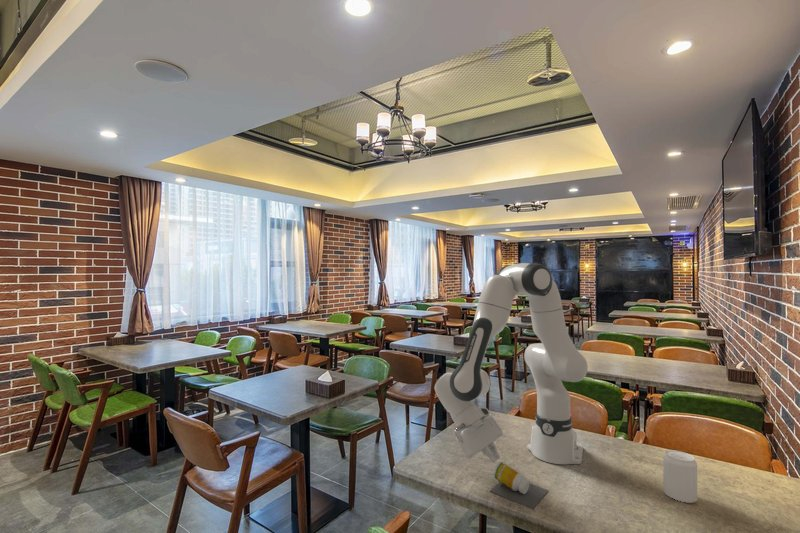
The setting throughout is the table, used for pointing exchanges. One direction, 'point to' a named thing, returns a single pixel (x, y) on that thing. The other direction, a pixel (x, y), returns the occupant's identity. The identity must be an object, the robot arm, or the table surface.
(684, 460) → the beverage can
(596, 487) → the table surface
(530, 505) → the rubber mat
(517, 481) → the supplement bottle
